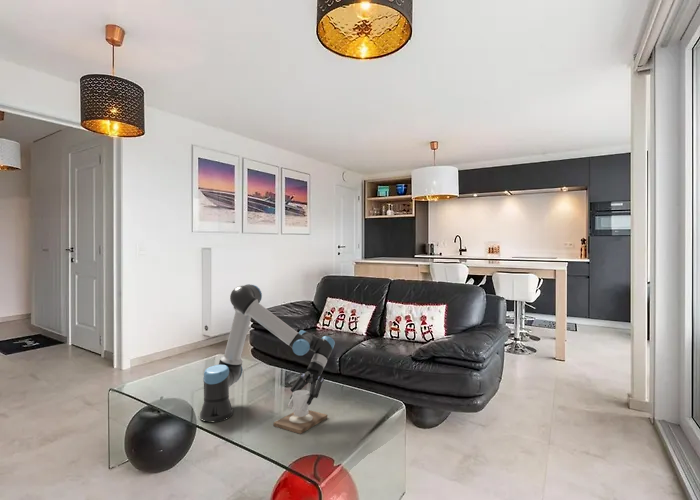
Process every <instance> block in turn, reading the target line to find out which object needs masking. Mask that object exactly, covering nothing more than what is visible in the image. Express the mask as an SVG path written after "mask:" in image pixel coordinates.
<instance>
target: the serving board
mask: <svg viewBox="0 0 700 500" xmlns="http://www.w3.org/2000/svg"><path fill="white" fill-rule="evenodd" d="M326 419H328V414H327V413H321V412H318V411H314V410H310V409H309V413H308V415H306V416H303V417H297V416H295V415H294V411H293V412H291V413H290V414H288V415H286V416H283V417H282V418H280V419H277V420H276V421H273V424H272V425H273V427H275V428H279V429H283V430H286V431H290V432H293V433H296V434H300V435H301V434H303V433H305V432H306V431H308V430H310V429H311V428H313V427H315V426H316V425H318V424H320V423H322V422H323V421H325V420H326Z"/></svg>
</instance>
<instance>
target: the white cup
mask: <svg viewBox="0 0 700 500" xmlns="http://www.w3.org/2000/svg"><path fill="white" fill-rule="evenodd" d="M292 394H293V407H292V408H293V412H294V415H295V416H297V417H303V416H306V415H308V413H309V410H310V409H309V408H310V405H309V406H308V408H307V410H306V412H304V411H303V410H302V407H303V405H304V403H305V400H306V398H307V396H309V394H310V390H306V389H301V390H297V391H294V392H292V393H291V395H292Z"/></svg>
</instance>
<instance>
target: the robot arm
mask: <svg viewBox="0 0 700 500" xmlns="http://www.w3.org/2000/svg"><path fill="white" fill-rule="evenodd" d="M229 296H230V299H229V301H230V303H231V305H232V307H233V310H234V311H235V312H234V316H233V319H232V324H231V327H230V332H229V335H228V339H227V343H226V347H225V351H224V355H222V356H220V359H219V362H218V364H215V365H211V366H209V367H207V368H205V370H204V372H203V379H202V380H203V402H202V403H203V404H202V407H201V410H200V413H199V419H200V418H201V419H203V420H205V421H218V422H221V421H220V420H223V421H225V420H224V419H226V418H228V417H230V416H231V415H232V413H234V412H233V411H234V410H233V406H232V403H231V401H230V387H231V386H233V385H234V384H236V383H237V382H238V381H239V380H240V379H241V377H242V374H243V366H242V365H243V362H244V361H243V360H242V353H243V350H244V347H245V343H246V340H247V339H246V338H247V334H248V331H249V326H250V324H251V320H252V319H253V320H254V321H255V322H256V323H258V324H259V325H261V326H262V327H263V328H265V329H266V330H267V331H269V332H270V333H271V334H273V335H274V336H275V337H277V338H278V339H279V340H281V341H282V342H283V343H285V344H286V345H288V346H289V347H290V348H291V349H292V352H293V353H294V354H295V355H296V356H304V355H306V354H308V353H309V351H312V352H313V353H314V354H313V356H312V358H311V360H310V363H309V364H308V366H307V369H306V372H305V373H303V372H299V374H298V376H297V378H296V380H295V382H294V383H293V385H292V386H291V388H290V391H291V392H292V393H293V392H294V391H297V390H303V389H304V387H305V386H306V385H308V384H310V389H309V396H307V398H306V400H305V403H304V405H303V407H302V410H303V411H304V412H306V410H307V408H308V406H309V407H310V405H311V404H312V402H313V400H314V399H318V398H319V395H320V394H319V393H320V391H321V387H322V384H323V382H324V380H325V379H324V377H323V376H321V375H322V373H323V371H324V369H325V367H326V365H327V363H328V360H329V358H330V356H331V355H332V352H333V350H334V348H335V345H336V342H335V339H333V337H331V336H329V335H324V336H322V337H318V336H316V335H314V334H312V333H310V332H308V331H306V330H304V329H300V330H299V332H298V331H297V330H295V329H294V328H292V327H291V326H290V325H288V324H287V323H286V322H284V320H282V319H281V318H279V317H278V316H276V315H275V314H274V313H273V312H271V311H270V310H269V309H267V308H266V307H265V306H263V305H262V304H261V301H262V298H263V294H262V291H261V289H260V288H259V287H258V286H257V285H255V284H244V285H239V286H236V287H235V288H233V290H232V291H231V293H230V295H229ZM292 393H291V395H290V397H289V399H290V400H289V401H288V404H287V407H288V408H289V409H290V410H291V409H292V408H293V394H292ZM232 416H233V415H232ZM232 416H231V417H232ZM231 417H230V418H231ZM228 419H229V418H228ZM226 420H227V419H226Z"/></svg>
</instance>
